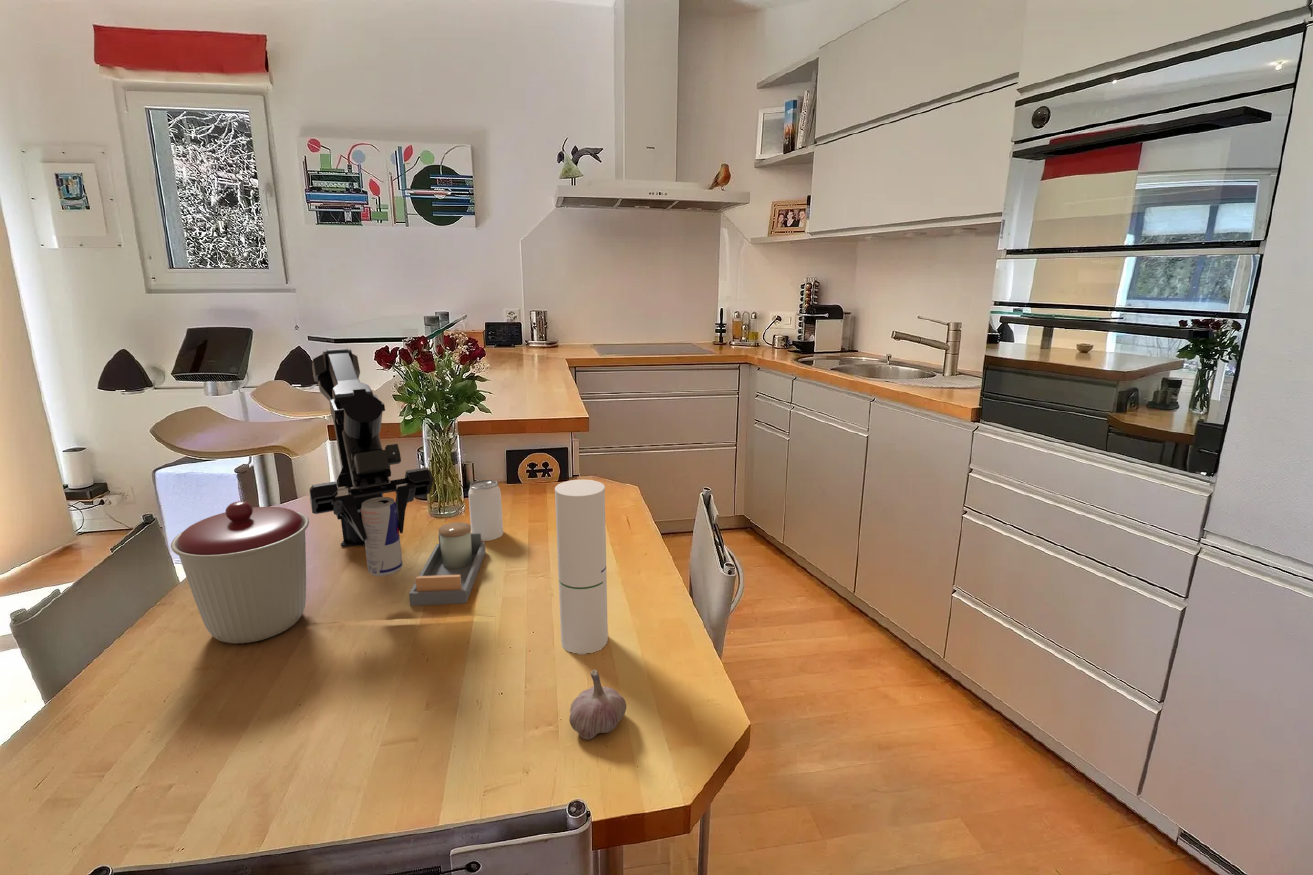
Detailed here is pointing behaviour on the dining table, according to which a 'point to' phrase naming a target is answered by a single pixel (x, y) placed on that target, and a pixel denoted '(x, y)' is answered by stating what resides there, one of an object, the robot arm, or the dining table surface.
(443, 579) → the bar
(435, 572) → the grey rectangular tray
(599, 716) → the garlic bulb
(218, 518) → the canister
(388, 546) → the energy drink
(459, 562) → the sage jar
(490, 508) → the can
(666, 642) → the dining table surface
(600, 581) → the cylindrical container
